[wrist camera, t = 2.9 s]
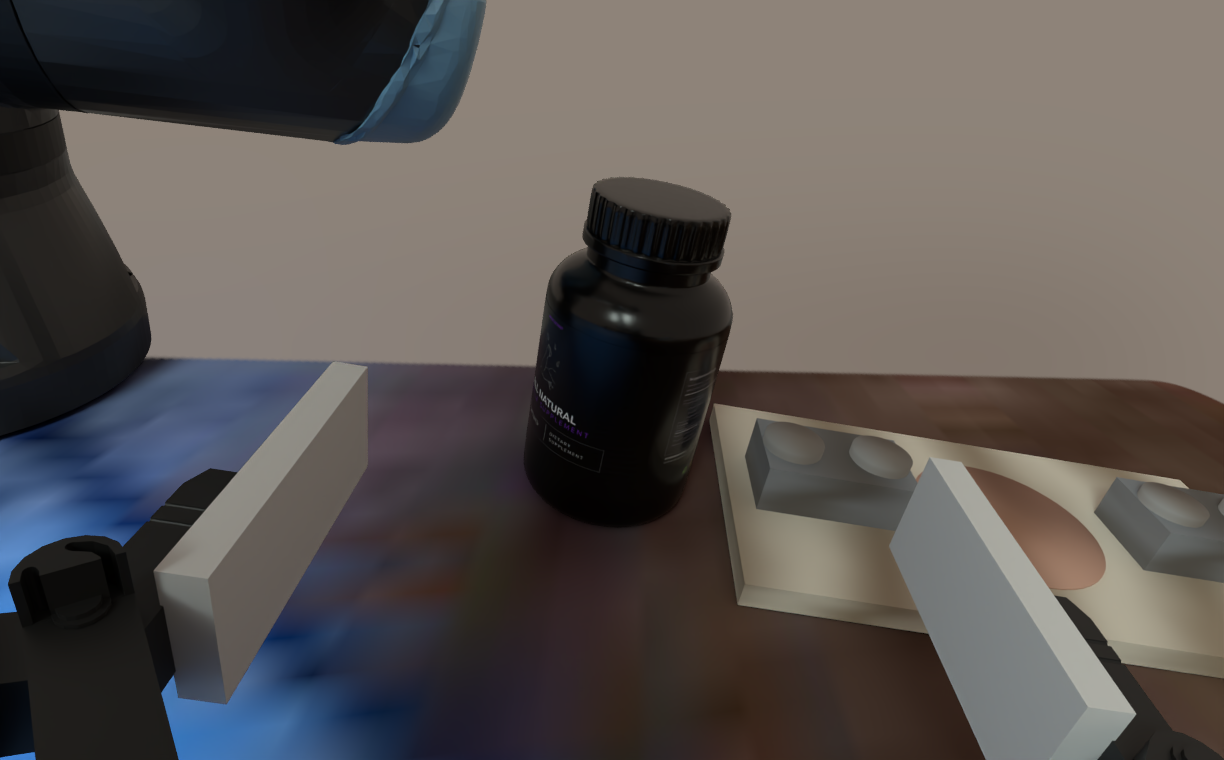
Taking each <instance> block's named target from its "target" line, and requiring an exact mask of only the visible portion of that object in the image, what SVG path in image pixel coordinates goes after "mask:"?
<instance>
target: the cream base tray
mask: <svg viewBox="0 0 1224 760" xmlns="http://www.w3.org/2000/svg"><path fill="white" fill-rule="evenodd" d="M709 422H710V429H711V435H712V442H713V448H714V455H715V461H716V468H717V474H718V481H719V487H720V494H721V500H722V507H723V513H724V520H725V526H726V533H727V539H728V546H729V552H730V559H731V565H732V572H733V578H734V585H735V591H736V598H737V604H738V605H742V606H749V607H755V608H762V609H769V610H775V611H782V612H788V613H795V614H802V615H808V616H815V617H821V618H828V619H835V620H841V621H848V622H854V623H861V624H868V625H874V626H881V627H887V628H894V629H901V630H907V631H914V632H920V633H927V634H929V633H928V631H927V629H926V627H925V625H924V622H923V620H922V618H921V616H920V614H919V611H918V609H917V607H916V605H915V603H914V600H913V598H912V596H911V594H910V592H909V589H908V587H907V585H906V583H905V581H904V578H903V576H902V574H901V572H900V570H899V567H898V565H897V563H896V561H895V559H894V556H893V554H892V552H891V550H890V548H889V545H890V543H891V540H892V538H893V536H894V534H895V532H896V529H897V527H898V525H899V523H900V521H901V519H902V516H903V514H904V512H905V510H906V508H907V505H908V503H909V501H910V499H911V497H912V495H913V492H914V490H915V488H916V486H917V484H918V481H919V479H920V477H921V475H922V473H923V471H924V468H925V466H926V464H927V462H928V460H929V457H933V458H939V459H946V460H952V461H958V462H962V464H963V465H964V467H965V468H966V469H967V471H968V472H969V474H970V475H971V477H972V478H973V480H974V481H975V482H976V484H977V485H978V487H979V488H980V490H981V491H982V492H983V494H984V495H985V497H986V498H987V500H988V501H989V503H990V504H991V505H992V507H993V508H994V510H995V511H996V513H997V514H998V516H999V517H1000V518H1001V520H1002V521H1003V523H1004V524H1005V526H1006V527H1007V528H1008V530H1009V531H1010V533H1011V534H1012V536H1013V537H1014V539H1015V540H1016V541H1017V543H1018V544H1019V546H1020V547H1021V549H1022V550H1023V552H1024V553H1025V554H1026V556H1027V557H1028V559H1029V560H1030V562H1031V563H1032V564H1033V566H1034V567H1035V569H1036V570H1037V572H1038V573H1039V575H1040V576H1041V577H1042V579H1043V580H1044V582H1045V583H1046V585H1047V586H1048V587H1049V589H1050V590H1051V592H1052V593H1053V595H1055V596H1061V597H1067V598H1068V599H1069V600H1070V601H1071V602H1072V603H1074V604H1075V605H1076V606H1077V607H1078V608H1079V609H1080V610H1082V611H1083V612H1084V613H1085V614H1086V615H1087V616H1088V617H1090V618H1091V619H1092V621H1093V622H1094V623H1095V625H1096V626H1097V628H1098V629H1099V630H1100V632H1101V633H1102V634H1103V636H1104V637H1105V639H1106V640H1107V641H1108V643H1107V645H1108V646H1111V647H1112V648H1113V650H1114V651H1115V652H1116V654H1117V655H1118V656H1119V658H1120V659H1121V663H1125V664H1132V665H1138V666H1145V667H1152V668H1158V669H1165V670H1171V671H1178V672H1185V673H1191V674H1198V675H1204V676H1211V677H1218V678H1224V495H1223V494H1217V493H1211V492H1205V491H1198V490H1192V489H1189V488H1188V487H1187V486H1186V485H1184V484H1183V483H1182V482H1181V481H1180V480H1176V479H1170V478H1164V477H1158V476H1152V475H1146V474H1140V473H1134V472H1128V471H1122V470H1116V469H1110V468H1104V467H1097V466H1091V465H1085V464H1079V463H1073V462H1067V461H1061V460H1055V459H1049V458H1043V457H1037V456H1031V455H1025V454H1018V453H1012V452H1006V451H1000V450H994V449H988V448H982V447H976V446H970V445H964V444H958V443H952V442H946V441H940V440H933V439H927V438H921V437H915V436H909V435H903V434H897V433H891V432H885V431H879V430H873V429H867V428H861V427H855V426H848V425H842V424H836V423H830V422H824V421H818V420H812V419H806V418H800V417H794V416H788V415H782V414H776V413H770V412H763V411H757V410H751V409H745V408H739V407H733V406H727V405H721V404H715V403H714V405H713V409H712V412H711V416H710V419H709Z"/></svg>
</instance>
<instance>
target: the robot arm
mask: <svg viewBox="0 0 1224 760" xmlns="http://www.w3.org/2000/svg"><path fill="white" fill-rule="evenodd" d="M485 8H486V0H0V436H1V435H4V434H8V433H11V432H14V431H17V430H20V429H24V428H27V427H30V426H32V425H35V424H38V423H41V422H44V421H46V420H49V419H52V418H54V417H57V416H59V415H62V414H64V413H66V412H68V411H71V410H73V409H75V408H77V407H79V406H81V405H84V404H86V403H88V402H90V401H91V400H93V399H95V398H97V397H99V396H101V395H102V394H104V393H105V392H107V391H109V390H110V389H112V388H113V387H115V386H116V385H118V384H119V383H120V382H122V381H123V380H124V379H125V378H127V377H128V376H129V375H130V374H131V373H132V372H133V371H134V370H135V369H136V368H137V367H138V366H139V365H140V364H141V362H142V361H143V360H144V358H145V357H146V355H147V353H148V351H149V348H150V344H151V331H150V325H149V319H148V313H147V308H146V302H145V297H144V294H143V291H142V288H141V285H140V283H139V282H138V280H137V279H136V278H135V276H134V275H133V273H132V272H131V271H130V269H129V268H128V267H127V266H126V265H125V264H124V263H123V261H122V259H121V257H120V255H119V253H118V251H117V249H116V247H115V245H114V244H113V241H112V240H111V238H110V236H109V234H108V232H107V230H106V228H105V227H104V225H103V223H102V221H101V219H100V218H99V216H98V214H97V212H96V211H95V209H94V207H93V205H92V203H91V202H90V200H89V198H88V197H87V195H86V193H85V191H84V190H83V188H82V186H81V185H80V183H79V181H78V179H77V177H76V176H75V174H74V172H73V170H72V167H71V164H70V160H69V156H68V152H67V147H66V143H65V138H64V133H63V128H62V124H61V119H60V115H59V110H66V111H77V112H83V113H94V114H102V115H111V116H120V117H128V118H136V119H145V120H153V121H162V122H170V123H179V124H187V125H195V126H204V127H212V128H221V129H230V130H238V131H246V132H254V133H263V134H271V135H280V136H289V137H297V138H305V139H314V140H322V141H329V142H333V143H335V144H341V145H346V144H351V143H355V142H357V141H369V142H392V143H413V142H420V141H423V140H426V139H428V138H430V137H431V136H433V135H434V134H436V133H437V132H439V130H441V129H442V128H443V127H444V126H445V124H446V123H447V122H448V121H449V119H450V118H451V117H452V115H453V113H454V112H455V110H456V108H457V106H458V104H459V102H460V99H461V97H462V95H463V92H464V89H465V86H466V84H467V81H468V78H469V75H470V72H471V68H472V64H473V61H474V57H475V53H476V50H477V46H478V42H479V38H480V33H481V29H482V24H483V19H484V14H485ZM367 466H368V369H367V367H365V366H359V365H353V364H346V363H340V362H334V361H333V362H332V364H331V365H330V366H329V367H328V368H327V369H326V371H325V372H324V373H323V374H322V375H321V376H320V378H319V379H318V380H317V381H316V382H315V383H314V385H313V386H312V387H311V388H310V389H309V390H308V392H307V393H306V394H305V395H304V396H303V397H302V399H301V400H300V401H299V402H298V403H297V404H296V406H295V407H294V408H293V409H292V410H291V411H290V413H289V414H288V415H287V416H286V417H285V418H284V420H283V421H282V422H281V423H280V424H279V425H278V426H277V428H276V429H275V430H274V431H273V432H272V433H271V435H270V436H269V437H268V438H267V439H266V440H265V442H264V443H263V444H262V445H261V446H260V447H259V449H258V450H257V451H256V452H255V453H254V454H253V456H252V457H251V458H250V459H249V460H248V461H247V463H246V464H245V465H244V466H243V467H242V468H241V470H240V471H239V472H238V473H237V472H231V471H224V470H217V469H211V468H210V469H208V470H206V471H205V472H203V473H201V474H199V475H197V476H196V477H194V478H192V479H190V480H188V481H187V482H185V483H183V484H182V485H181V486H180V487H179V488H178V489H177V490H176V491H175V493H174V494H173V495H172V496H171V497H170V498H169V499H168V500H167V501H166V502H165V506H161V507H160V508H159V509H158V510H157V511H156V512H155V514H154V515H153V516H152V517H151V519H150V521H149V522H146V523H145V524H144V525H143V526H142V527H141V528H140V529H139V530H138V531H137V532H136V533H135V534H134V536H133V537H132V538H131V539H130V540H129V541H128V542H127V543H126V544H125V545H124V546H123V547H122V546H121V544H120V543H119V542H117V541H115V540H112V539H110V538H107V537H105V536H90V535H84V536H78V537H71V538H65V539H62V540H59V541H56V542H53V543H51V544H48V545H45V546H42V547H41V548H39V549H37V550H36V551H34V552H33V553H31V554H29V555H28V556H26V557H24V558H23V559H22V560H21V562H20V563H19V564H18V565H17V566H16V567H15V568H14V569H13V570H12V572H11V575H10V579H9V582H8V586H9V589H10V592H11V595H12V598H13V601H14V604H15V607H16V610H17V612H11V613H1V614H0V757H5V756H12V755H18V754H24V753H31V752H35V757H36V760H179V759H178V756H177V752H176V748H175V744H174V740H173V736H172V733H171V729H170V725H169V721H168V717H167V714H166V710H165V706H164V702H163V698H162V695H161V692H162V691H163V689H164V688H165V686H166V685H167V683H168V682H169V680H170V679H171V678H172V676H173V675H174V678H175V683H176V688H177V693H178V698H184V699H191V700H198V701H205V702H213V703H220V704H227V703H228V701H229V699H230V698H231V696H232V694H233V693H234V691H235V689H236V688H237V686H238V684H239V683H240V681H241V679H242V677H243V676H244V674H245V672H246V671H247V669H248V667H249V666H250V664H251V662H252V661H253V659H254V657H255V656H256V654H257V652H258V650H259V649H260V647H261V645H262V644H263V642H264V640H265V639H266V637H267V635H268V634H269V632H270V630H271V628H272V627H273V625H274V623H275V622H276V620H277V618H278V617H279V615H280V613H281V612H282V610H283V608H284V607H285V605H286V603H287V601H288V600H289V598H290V596H291V595H292V593H293V591H294V590H295V588H296V586H297V585H298V583H299V581H300V579H301V578H302V576H303V574H304V573H305V571H306V569H307V568H308V566H309V564H310V563H311V561H312V559H313V557H314V556H315V554H316V552H317V551H318V549H319V547H320V546H321V544H322V542H323V541H324V539H325V537H326V536H327V534H328V532H329V530H330V529H331V527H332V525H333V524H334V522H335V520H336V519H337V517H338V515H339V514H340V512H341V510H342V508H343V507H344V505H345V503H346V502H347V500H348V498H349V497H350V495H351V493H352V492H353V490H354V488H355V487H356V485H357V483H358V481H359V480H360V478H361V476H362V475H363V473H364V471H365V470H366V468H367ZM889 548H890V550H891V552H892V554H893V556H894V559H895V561H896V563H897V565H898V567H899V570H900V572H901V574H902V576H903V578H904V581H905V583H906V585H907V587H908V589H909V592H910V594H911V596H912V598H913V600H914V603H915V605H916V607H917V609H918V611H919V614H920V616H921V618H922V620H923V622H924V625H925V627H926V629H927V631H928V633H929V636H930V638H931V640H932V642H933V644H934V647H935V649H936V651H937V653H938V655H939V658H940V660H941V662H942V664H943V666H944V669H945V671H946V673H947V675H948V677H949V680H950V682H951V684H952V686H953V688H954V691H955V693H956V695H957V697H958V699H959V702H960V704H961V706H962V708H963V710H964V713H965V715H966V717H967V719H968V722H969V724H970V726H971V728H972V730H973V733H974V735H975V737H976V739H977V741H978V744H979V746H980V748H981V750H982V752H983V755H984V757H985V759H986V760H1224V759H1223V758H1222V757H1221V756H1220V755H1219V754H1217V753H1216V752H1214V751H1213V750H1212V749H1210V748H1209V747H1207V746H1206V745H1205V744H1203V743H1202V742H1200V741H1198V740H1196V739H1194V738H1192V737H1189V736H1187V735H1185V734H1183V733H1179V732H1175V731H1172V729H1171V728H1170V726H1169V725H1168V724H1167V722H1166V721H1165V720H1164V718H1163V717H1162V715H1161V714H1160V713H1159V711H1158V710H1157V709H1156V707H1155V706H1154V704H1153V703H1152V702H1151V700H1150V699H1149V698H1148V696H1147V695H1146V693H1145V692H1144V691H1143V689H1142V688H1141V687H1140V685H1139V684H1138V682H1137V681H1136V680H1135V678H1134V677H1133V676H1132V674H1131V673H1130V672H1129V670H1128V669H1127V667H1126V666H1125V665H1122V664H1121V659H1120V658H1119V656H1118V655H1117V654H1116V652H1115V651H1114V650H1113V648H1112V647H1111V646H1108V645H1107V643H1108V641H1107V640H1106V639H1105V637H1104V636H1103V634H1102V633H1101V632H1100V630H1099V629H1098V628H1097V626H1096V625H1095V623H1094V622H1093V621H1092V619H1091V618H1090V617H1088V616H1087V615H1086V614H1085V613H1084V612H1083V611H1082V610H1080V609H1079V608H1078V607H1077V606H1076V605H1075V604H1074V603H1072V602H1071V601H1070V600H1069V599H1068V598H1067V597H1061V596H1055V595H1053V593H1052V592H1051V590H1050V589H1049V587H1048V586H1047V585H1046V583H1045V582H1044V580H1043V579H1042V577H1041V576H1040V575H1039V573H1038V572H1037V570H1036V569H1035V567H1034V566H1033V564H1032V563H1031V562H1030V560H1029V559H1028V557H1027V556H1026V554H1025V553H1024V552H1023V550H1022V549H1021V547H1020V546H1019V544H1018V543H1017V541H1016V540H1015V539H1014V537H1013V536H1012V534H1011V533H1010V531H1009V530H1008V528H1007V527H1006V526H1005V524H1004V523H1003V521H1002V520H1001V518H1000V517H999V516H998V514H997V513H996V511H995V510H994V508H993V507H992V505H991V504H990V503H989V501H988V500H987V498H986V497H985V495H984V494H983V492H982V491H981V490H980V488H979V487H978V485H977V484H976V482H975V481H974V480H973V478H972V477H971V475H970V474H969V472H968V471H967V469H966V468H965V467H964V465H963V464H962V462H958V461H952V460H946V459H939V458H933V457H929V460H928V462H927V464H926V466H925V468H924V471H923V473H922V475H921V477H920V479H919V481H918V484H917V486H916V488H915V490H914V492H913V495H912V497H911V499H910V501H909V503H908V505H907V508H906V510H905V512H904V514H903V516H902V519H901V521H900V523H899V525H898V527H897V529H896V532H895V534H894V536H893V538H892V540H891V543H890V545H889Z"/></svg>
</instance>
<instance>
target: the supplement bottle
mask: <svg viewBox="0 0 1224 760" xmlns="http://www.w3.org/2000/svg"><path fill="white" fill-rule="evenodd" d="M730 220H731V213H730V209H729V208H727V207H726V205H725V204H723V203H721V202H720V201H719V200H716V199H714V198H713V197H711V196H709V195H706V194H704V193H702V192H699V191H696V190H693V189H691V188H687V187H683V186H680V185H676V184H672V183H668V182H662V181H657V180H650V179H644V178H634V177H617V178H608V179H602V180H600V181H597V183H595V184H594V185H593V188H592V193H591V198H590V204H589V211H588V217H587V220H586V221H585V223H584V230H583V240H584V242H585V243H586V245H588V247H587V248H584V249H582V250H579V251H577V252H575V253H573V254H571V255H570V256H568V257H567V258H566V259H564V260H563V261H562V262H561V263H560V264H559V265H558V266H557V268H556V269H555V270H554V272H553V274H552V275H551V277H550V280H549V283H548V288H547V294H546V300H545V306H544V314H543V320H542V328H541V335H540V342H539V349H538V356H537V363H536V370H535V377H534V384H533V391H532V398H531V405H530V412H529V419H528V426H527V433H526V442H525V450H524V467H525V472H526V475H527V478H528V480H529V482H530V484H531V485H532V487H533V488H534V490H535V491H536V492H537V494H538V495H539V496H540V497H541V498H542V499H543V500H544V501H545V502H547V503H548V504H549V505H550V506H552V507H553V508H555V509H556V510H558V511H560V512H561V513H563V514H565V515H567V516H569V517H571V518H574V519H576V520H579V521H582V522H586V523H590V524H594V525H599V526H607V527H626V526H634V525H640V524H644V523H647V522H650V521H652V520H654V519H657V518H659V517H660V516H662V515H664V514H665V513H667V512H668V511H669V510H670V509H671V508H672V507H673V506H674V505H675V504H676V503H677V501H678V500H679V498H680V496H681V495H682V492H683V490H684V487H685V483H686V480H687V477H688V474H689V471H690V468H691V464H692V461H693V457H694V454H695V450H696V447H697V444H698V440H699V437H700V433H701V430H702V426H703V423H704V420H705V416H706V413H707V409H708V406H709V402H710V399H711V395H712V392H713V389H714V385H715V382H716V378H717V375H718V371H719V368H720V364H721V361H722V358H723V354H724V351H725V347H726V344H727V340H728V337H729V333H730V329H731V324H732V319H733V313H732V307H731V302H730V299H729V297H728V295H727V292H726V291H725V289H724V287H723V286H722V285H721V284H720V282H719V281H718V280H717V279H716V278H715V277H714V276H713V275H712V274H711V272H712V271H714V270H716V269H718V268H719V266H720V265H721V262H722V258H723V255H724V248H723V246H724V242H725V239H726V235H727V231H728V227H729V224H730Z"/></svg>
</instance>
